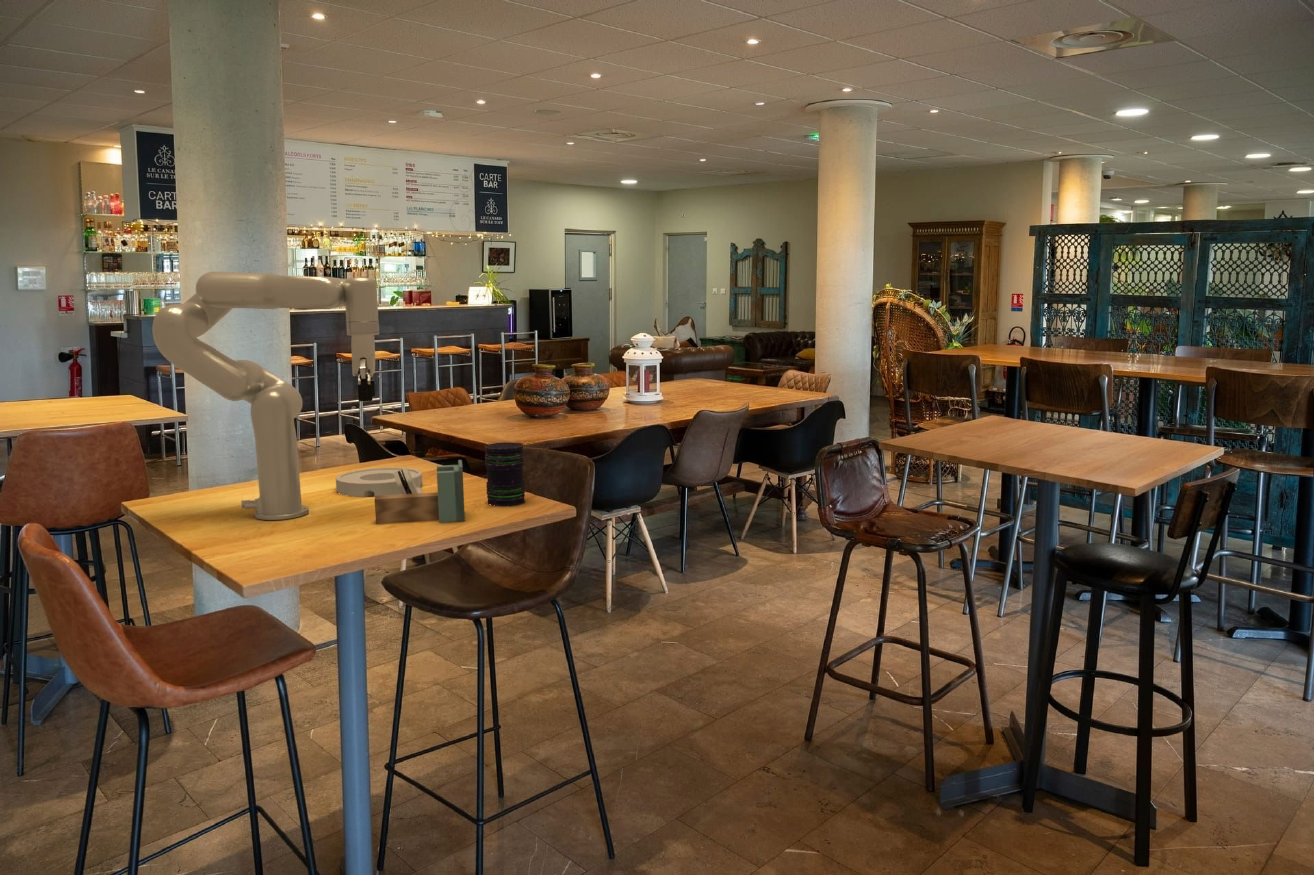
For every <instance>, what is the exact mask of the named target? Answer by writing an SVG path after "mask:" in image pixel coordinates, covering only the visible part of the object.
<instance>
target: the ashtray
mask: <svg viewBox="0 0 1314 875" xmlns="http://www.w3.org/2000/svg"><path fill="white" fill-rule="evenodd" d="M402 468H403V467H374V468H373V467H372V468H365V469H357V470H353V471H352V470H351V471H347V472H343V473H341V474H339V475H337V476H336V477H335V488H336V489H335V490H336V493H337V492H338V493H340V494H339V495H341V494H342V495H341V496H345V495H348V496H347V497H352V496H354V498H355V497H356V498H366V497H372V496H373V497H374V498H375V496H381V495H399V494H401V492H400V490H399V488H398V485H397V483H396V480H395V477H394V472H396V471H397V470H398V471H400V472H401V470H402ZM407 468H408V470H409V473H410V475H411V477H412V479H413V482H414V484H415V486H416V487H417V488H421V489H422V487H423V484H424V483H423V472H422V471H421V470H419V469H415V468H411V467H407ZM401 474H402V472H401ZM402 476H403V475H402ZM403 479H404V478H403ZM404 481H405V480H404ZM420 486H421V487H420ZM407 488H408V487H407ZM338 493H337V494H338Z"/></svg>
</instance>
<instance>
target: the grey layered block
mask: <svg viewBox="0 0 1314 875" xmlns="http://www.w3.org/2000/svg"><path fill="white" fill-rule="evenodd" d="M401 468H402V470H401V472H402V474H401V472H400V471H398V470H397V471H396V472H394V477H395V480H396V483H397V485H398V488H399V490H400V492H401V494H417V493H424V491H423V490H422V487H421V488H417V487H416V486H415V484H414V482H413V479H412V477H411V475H410V473H409V470H408V468H409V467H401ZM402 475H403V476H402ZM403 478H404V479H403ZM404 480H405V481H404ZM407 487H408V488H407Z"/></svg>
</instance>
